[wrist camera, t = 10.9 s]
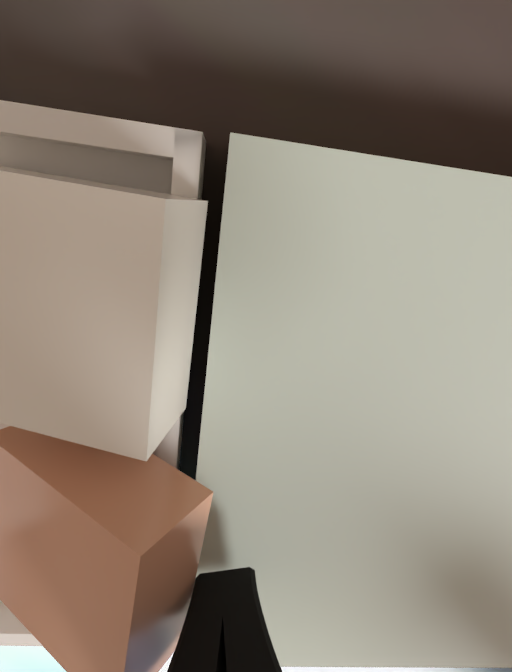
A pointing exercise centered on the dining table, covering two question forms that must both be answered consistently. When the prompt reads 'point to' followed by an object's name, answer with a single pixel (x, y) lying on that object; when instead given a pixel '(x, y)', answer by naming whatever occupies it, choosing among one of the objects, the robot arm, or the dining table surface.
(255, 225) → the board
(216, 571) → the robot arm
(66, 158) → the tray
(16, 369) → the tile cream
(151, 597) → the tile terracotta
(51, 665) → the dining table surface
